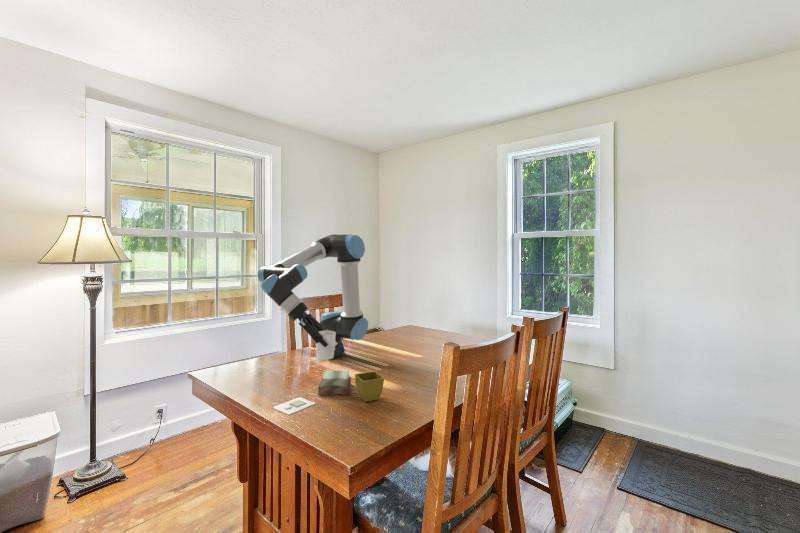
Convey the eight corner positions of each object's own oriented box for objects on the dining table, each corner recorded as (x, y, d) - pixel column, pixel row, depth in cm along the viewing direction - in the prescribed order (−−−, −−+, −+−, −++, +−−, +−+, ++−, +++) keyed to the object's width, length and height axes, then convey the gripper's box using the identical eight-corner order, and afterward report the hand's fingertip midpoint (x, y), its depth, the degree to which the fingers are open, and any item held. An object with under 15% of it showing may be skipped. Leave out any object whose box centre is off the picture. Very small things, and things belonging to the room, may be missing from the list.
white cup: (328, 353, 152) (328, 329, 152) (338, 357, 147) (339, 333, 146) (311, 356, 147) (312, 332, 147) (321, 361, 141) (322, 336, 141)
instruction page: (299, 397, 139) (299, 396, 139) (315, 403, 133) (315, 402, 133) (272, 407, 129) (272, 406, 129) (288, 415, 124) (288, 414, 124)
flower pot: (362, 405, 133) (362, 381, 133) (353, 396, 141) (354, 373, 141) (384, 401, 137) (384, 378, 137) (374, 393, 145) (375, 371, 145)
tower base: (318, 394, 142) (318, 379, 142) (322, 383, 154) (322, 369, 153) (349, 394, 143) (349, 379, 143) (350, 383, 155) (351, 369, 154)
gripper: (293, 309, 155) (330, 348, 157) (280, 319, 135) (323, 362, 137) (306, 297, 156) (343, 336, 157) (295, 305, 135) (338, 349, 137)
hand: (334, 348), depth 147 cm, fingers closed on white cup, 8 cm apart
